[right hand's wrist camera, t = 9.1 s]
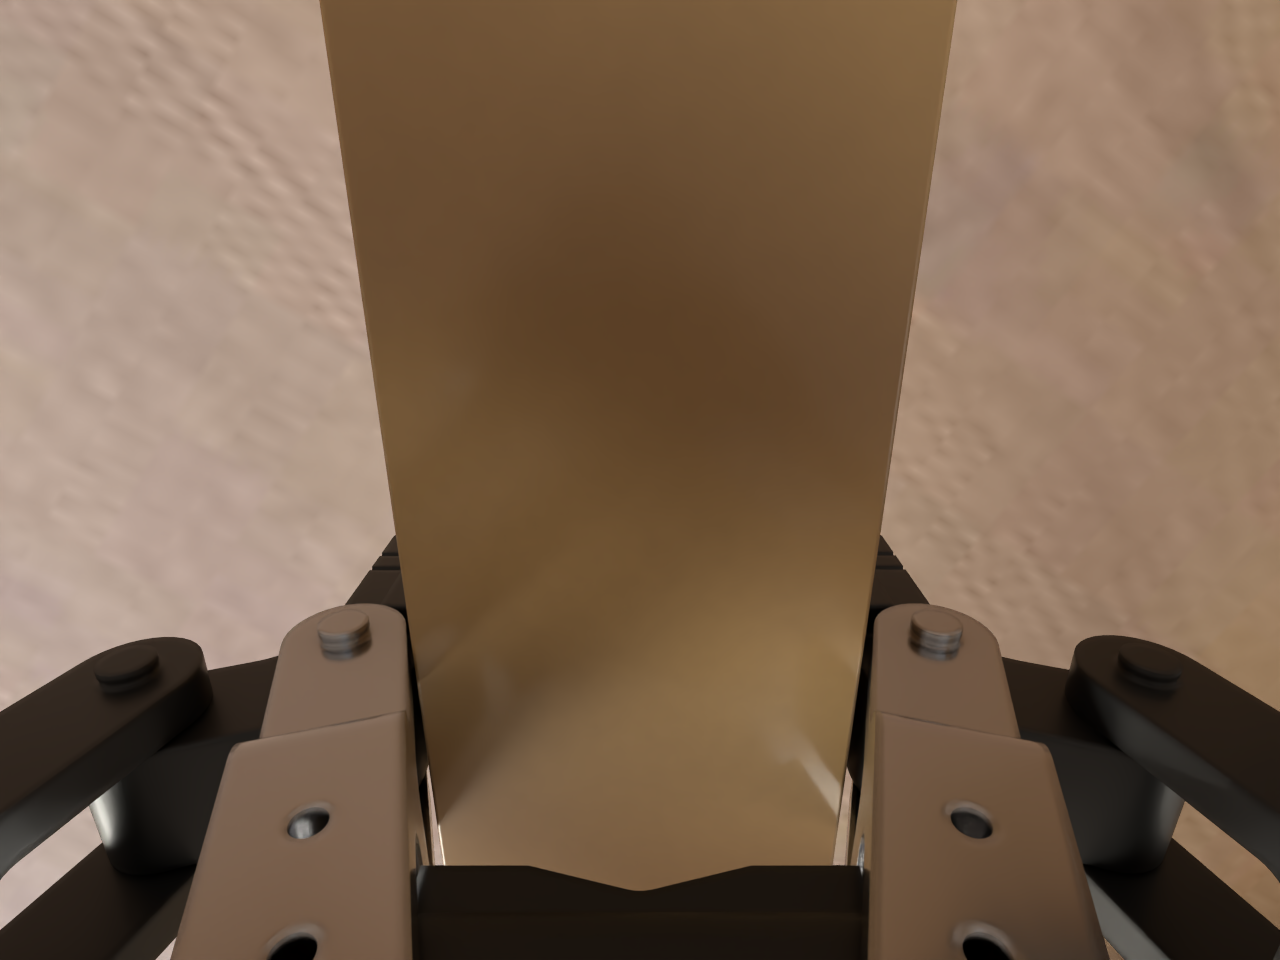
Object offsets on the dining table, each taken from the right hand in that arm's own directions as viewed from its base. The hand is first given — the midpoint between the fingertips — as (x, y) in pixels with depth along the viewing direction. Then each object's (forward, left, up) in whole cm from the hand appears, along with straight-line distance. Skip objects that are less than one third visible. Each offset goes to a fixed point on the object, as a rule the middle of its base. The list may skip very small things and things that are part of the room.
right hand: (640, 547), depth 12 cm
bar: (+7, -21, -3) cm, 23 cm away
